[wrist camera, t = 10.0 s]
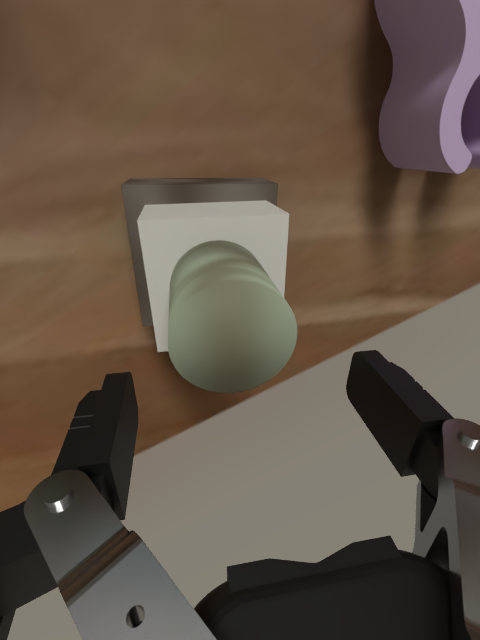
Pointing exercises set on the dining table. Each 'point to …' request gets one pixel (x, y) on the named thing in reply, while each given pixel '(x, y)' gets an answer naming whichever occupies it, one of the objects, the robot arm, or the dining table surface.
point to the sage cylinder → (227, 319)
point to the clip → (432, 84)
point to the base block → (178, 193)
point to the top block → (202, 226)
